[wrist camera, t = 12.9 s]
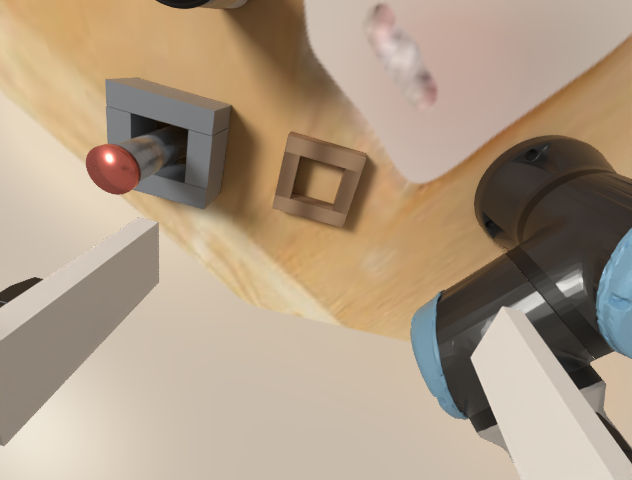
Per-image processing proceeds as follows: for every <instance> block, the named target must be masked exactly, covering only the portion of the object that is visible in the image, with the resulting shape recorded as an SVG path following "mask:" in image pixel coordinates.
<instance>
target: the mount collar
mask: <svg viewBox="0 0 632 480" xmlns="http://www.w3.org/2000/svg"><path fill="white" fill-rule="evenodd" d="M301 156H303V157H307V158H310V159H314V160H317V161H321V162H324V163H328V164H331V165H335V166H338V167H342V168H345V169H344V172H343V175H342V179H341V182H340V185H339V188H338V191H337V194H336V198H335V201H334V204H331V203H328V202H324V201H321V200H317V199H313V198H310V197H306V196H303V195H299V194H296V193H292V192H293V188H294V184H295V180H296V176H297V172H298V168H299V163H300V159H301ZM366 158H367V157H366V153H363V152H360V151H356V150H353V149H350V148H346V147H343V146H339V145H336V144H332V143H329V142H325V141H322V140H319V139H315V138H312V137H308V136H305V135H301V134H298V133H294V132H290V134H289V135H288V138H287V143H286V147H285V152H284V157H283V161H282V166H281V170H280V175H279V180H278V184H277V189H276V194H275V198H274V203H273V207H272V208H273V209H277V210H280V211H284V212H288V213H291V214H295V215H299V216H302V217H306V218H309V219H313V220H317V221H320V222H324V223H327V224H331V225H335V226H338V227H342V228H343V225H344V223H345V220H346V217H347V214H348V211H349V208H350V205H351V202H352V199H353V196H354V193H355V190H356V187H357V185H358V182H359V179H360V176H361V173H362V170H363V167H364V164H365V161H366Z"/></svg>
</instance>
